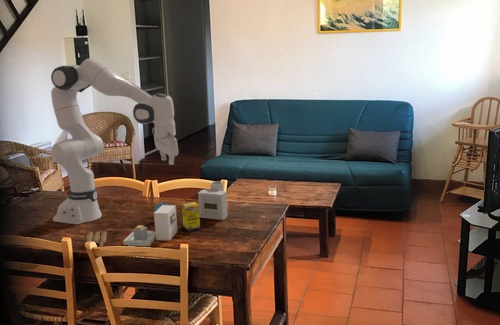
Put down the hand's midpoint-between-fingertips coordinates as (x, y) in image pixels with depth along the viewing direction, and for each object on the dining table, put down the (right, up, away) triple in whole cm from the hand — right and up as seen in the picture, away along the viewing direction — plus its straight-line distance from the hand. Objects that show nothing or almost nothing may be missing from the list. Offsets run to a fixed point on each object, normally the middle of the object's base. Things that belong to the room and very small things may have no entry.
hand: (167, 162), depth 230 cm
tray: (-10, -33, -10) cm, 36 cm away
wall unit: (+1, -31, -5) cm, 32 cm away
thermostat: (+21, -25, +19) cm, 38 cm away
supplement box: (+10, -29, +3) cm, 31 cm away
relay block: (-10, -32, -10) cm, 35 cm away
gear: (-3, -27, +14) cm, 30 cm away
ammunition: (-28, -35, -12) cm, 46 cm away
